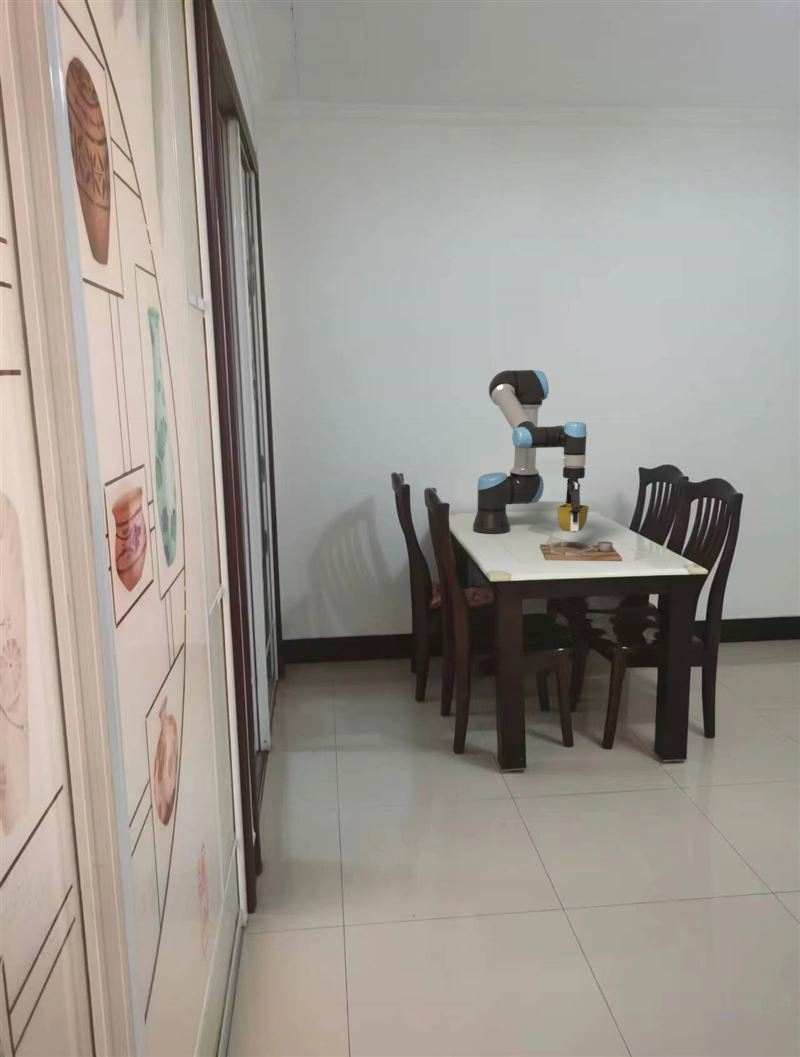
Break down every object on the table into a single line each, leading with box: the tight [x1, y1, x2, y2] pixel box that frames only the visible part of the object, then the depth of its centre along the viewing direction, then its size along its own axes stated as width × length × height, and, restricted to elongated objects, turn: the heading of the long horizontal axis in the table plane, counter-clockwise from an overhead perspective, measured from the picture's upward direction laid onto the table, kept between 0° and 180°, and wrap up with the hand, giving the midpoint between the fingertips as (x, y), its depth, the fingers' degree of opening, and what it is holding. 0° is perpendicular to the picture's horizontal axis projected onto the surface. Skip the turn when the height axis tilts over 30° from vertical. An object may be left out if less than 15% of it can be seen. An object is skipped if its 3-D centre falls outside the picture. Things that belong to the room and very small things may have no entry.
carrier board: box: [539, 540, 623, 562], centre depth 285 cm, size 20×26×4 cm
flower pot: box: [556, 503, 590, 533], centre depth 283 cm, size 9×9×9 cm
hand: (571, 527), depth 284 cm, fingers closed on flower pot, 11 cm apart
